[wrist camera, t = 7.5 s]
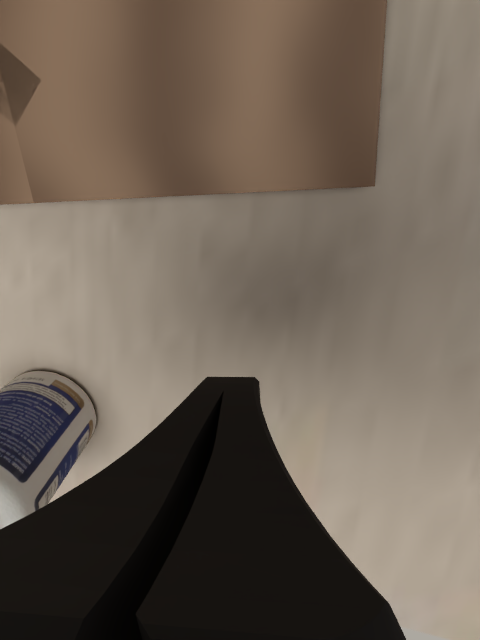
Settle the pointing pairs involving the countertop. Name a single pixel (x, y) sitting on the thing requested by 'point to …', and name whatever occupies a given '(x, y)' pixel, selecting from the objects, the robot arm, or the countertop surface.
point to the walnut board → (187, 97)
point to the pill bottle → (39, 439)
